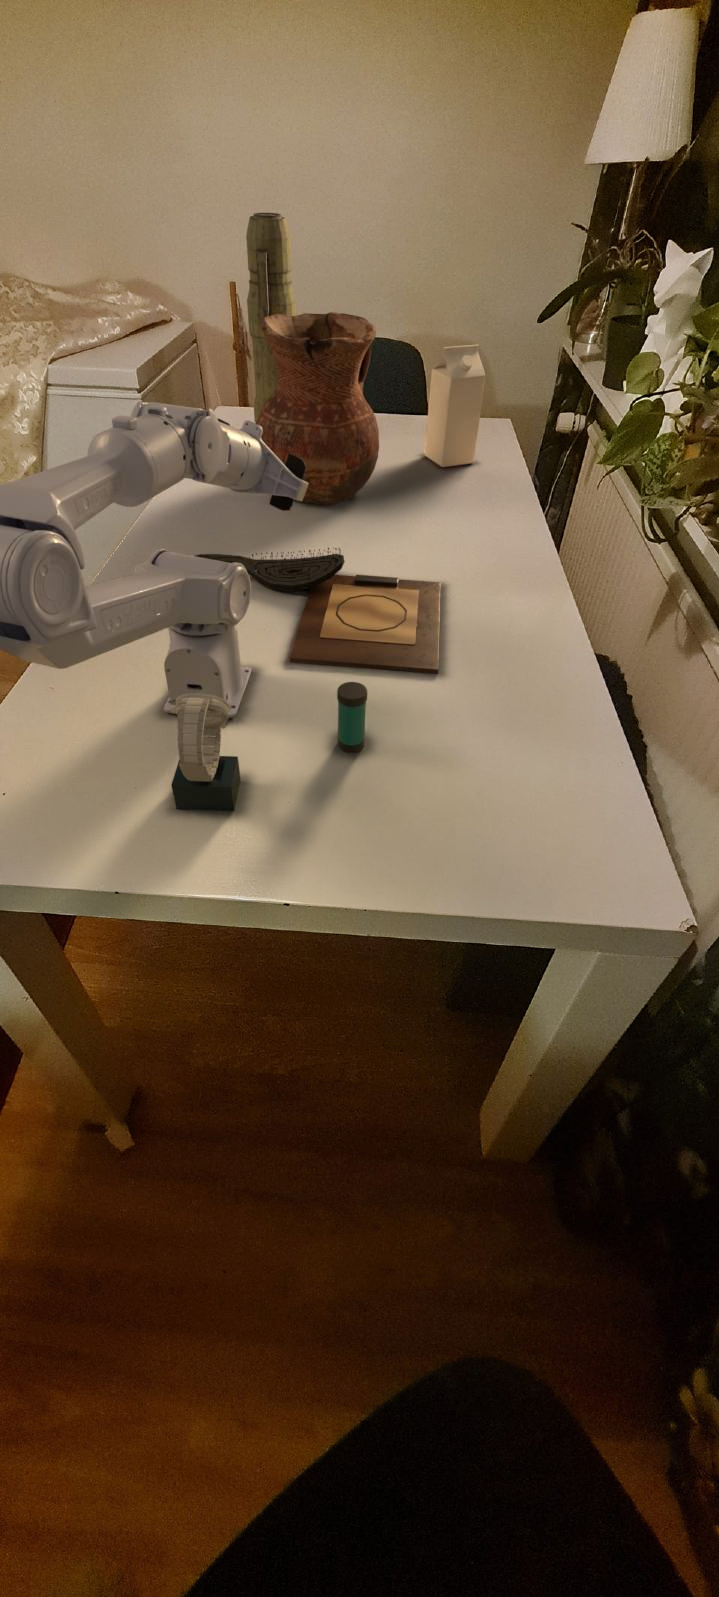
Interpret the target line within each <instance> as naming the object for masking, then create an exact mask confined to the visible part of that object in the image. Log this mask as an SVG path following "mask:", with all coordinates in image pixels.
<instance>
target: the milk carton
mask: <svg viewBox="0 0 719 1597" xmlns="http://www.w3.org/2000/svg"><path fill="white" fill-rule="evenodd" d="M479 347H480V345H479V344H472V345H457V346H446V347H445V346H444V347H443V352H442V356H440V358H439V359H438V360H437V362H436V363H435V364H434V365H433V367H432V368H431V376H430V387H429V398H428V407H427V408H428V410H427V418H426V429H425V430H426V432H425V442H424V451H423V452H424V453H423V454H424V456H425V457H427V458H428V459H429V460H431V461H432V462H433V463H435V464H437V465H438V466H439V467H442V468H446V467H454V466H461V465H468V464H474V462H475V456H476V448H477V441H478V436H479V435H478V434H479V427H480V419H481V412H482V405H483V404H482V403H483V398H484V390H485V384H486V372H485V370H484V369H485V368H484V365H483V363H482V359H481V356H480V353H479Z"/></svg>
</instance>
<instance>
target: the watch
mask: <svg viewBox="0 0 719 1597" xmlns="http://www.w3.org/2000/svg"><path fill="white" fill-rule="evenodd" d="M229 711H230V704H229V703H228V702H227V701H226V700H224V699H223V698H220V697H218V696H215V695H211V694H205V693H187V694H183V695H180V696H179V697H178V698H177V699H176V705H172V706H171V713H170V714H172V715H173V714H174V715H176V716H177V726H176V727H177V729H176V730H177V749H178V761H177V766H176V768H175V771H174V775H173V778H172V781H171V790H172V796H173V800H174V805H175V809H176V810H196V811H197V810H198V811H227V812H235V809H236V804H237V799H238V795H239V789H240V786H241V772H240V764H239V756H236V755H233V756H232V755H221V746H222V743H221V742H222V729H225V727H226V723H227V722H228V719H229V718H228V717H229Z"/></svg>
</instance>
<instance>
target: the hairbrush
mask: <svg viewBox="0 0 719 1597" xmlns="http://www.w3.org/2000/svg"><path fill="white" fill-rule="evenodd" d="M334 549H335V553H334V552H332V551H331V550H330V547H327V554H325V555H324V552H325V551H326V549H323V551H324V552H322V553H321V552H320V551H321V549H320V548H319V549H318V552H317V555H316V554H315V552H316V550H315V549H314V550H313V552H311V551H312V550H311V549H309V550H308V555H306V557H305V556H304V553H305V550H303V553H302V550H299V553H301V555H300V557H299V554H298V553H297V554H296V556H294V554H295V551H293V554H291V557H290V556H289V554H290V553H289V551H287V554H286V557H284V554H283V552H280V554H281V555H280V558H278V556H279V552H277V554H276V555H275V558H274V555H273V552H270V554H271V555H269V558H270V559H268V558H267V556H262V557H260V559H254V558H252V557H254V554H253V553H252V554H251V556H248V557H247V556H243V555H240V554H239V555H237V554H225V553H223V554H222V553H200V554H199V553H198V554H195V555H194V556H195V557H201V558H206V559H212V560H217V561H223V562H228V563H233V562H237V563H241V564H243V565H244V567H245V568H246V570H247V573H248V575H249V577H251V578H253V579H254V580H255V581H256V582H258V583H259V584H261V585H262V586H265V587H268V588H271V589H274V590H275V591H276V590H277V591H289V592H294V591H300V590H305V589H306V590H307V589H310V588H311V587H313V586H316V585H318V584H320V583H322V582H324V581H326V580H328V579H330V578H331V577H333V576H334V575H337V573H339V572H340V571H341V570H342V569H343V566H344V564H345V562H346V560H345V557H344V554H342V553H341V552H342V550H341V548H340V547H338V548H337V547H335V548H334ZM337 550H338V551H339V553H337ZM330 553H331V554H330ZM266 554H268V551H266ZM255 555H256V556H258V553H257V552H256V553H255ZM260 555H263V552H261V553H260ZM293 556H294V557H293ZM287 557H288V558H287ZM292 557H293V558H292Z"/></svg>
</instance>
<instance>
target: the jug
mask: <svg viewBox="0 0 719 1597" xmlns="http://www.w3.org/2000/svg"><path fill="white" fill-rule="evenodd" d="M260 327H261V329H262V331H263V332H264V334H265V337H266V339H267V341H268V343H269V344H270V347H271V350H272V353H273V356H274V360H275V363H276V371H277V387H276V389H275V391H274V393H273V394H272V395H271V396H270V397H269V398H268V400H267V401H266V402H265V404H264V405H263V407H262V409H261V411H260V414H259V416H258V420H257V423H255V424H257V425H259V426H261V427H262V429H263V433H262V437H261V438H262V441H263V442H264V443H265V444H266V445H267V446H268V447H269V449H270V450H271V451H272V452H273V453H274V454H275V455H276V456H277V457H278V458H279V459H280V461H281V462H282V463H283V464H284V465H285V462H286V459H287V457H288V454H289V453H290V454H292V455H294V456H296V457H298V458H300V459H302V460H303V461H304V462H305V463H306V470H305V473H304V474H305V476H306V479H307V480H306V482H308V483H309V484H308V487H307V490H306V493H305V495H304V498H303V500H302V501H301V502H304V503H309V504H318V505H327V504H328V505H329V504H336V503H340V502H342V501H343V502H344V501H347V500H349V499H350V498H352V497H354V496H355V495H356V494H357V493H358V492H360V490H361V489H363V487H364V486H365V485H366V483H368V481H369V480H370V478H371V477H372V474H373V472H374V470H375V469H376V465H377V462H378V458H379V451H380V432H379V431H380V430H379V425H378V421H377V417H376V415H375V412H374V411H373V409H372V408H371V406H370V405H369V403H368V402H367V400H366V398H365V396H364V394H363V392H364V385H365V384H364V383H365V379H366V377H367V374H368V370H369V367H370V362H371V354H372V343H373V341H374V340H375V339H376V336H377V329H376V326H375V325H374V324H373V323H372V322H369V320H368V319H366V317H363V316H359V315H355V314H350V313H349V314H348V313H344V312H342V313H341V312H335V311H331V312H330V311H329V312H326V313H309V312H307V313H306V312H304V313H301V314H296V316H292V317H291V316H288V315H281V314H277V315H271V316H267V317H265V318H263V319H262V320H261V321H260Z"/></svg>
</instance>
